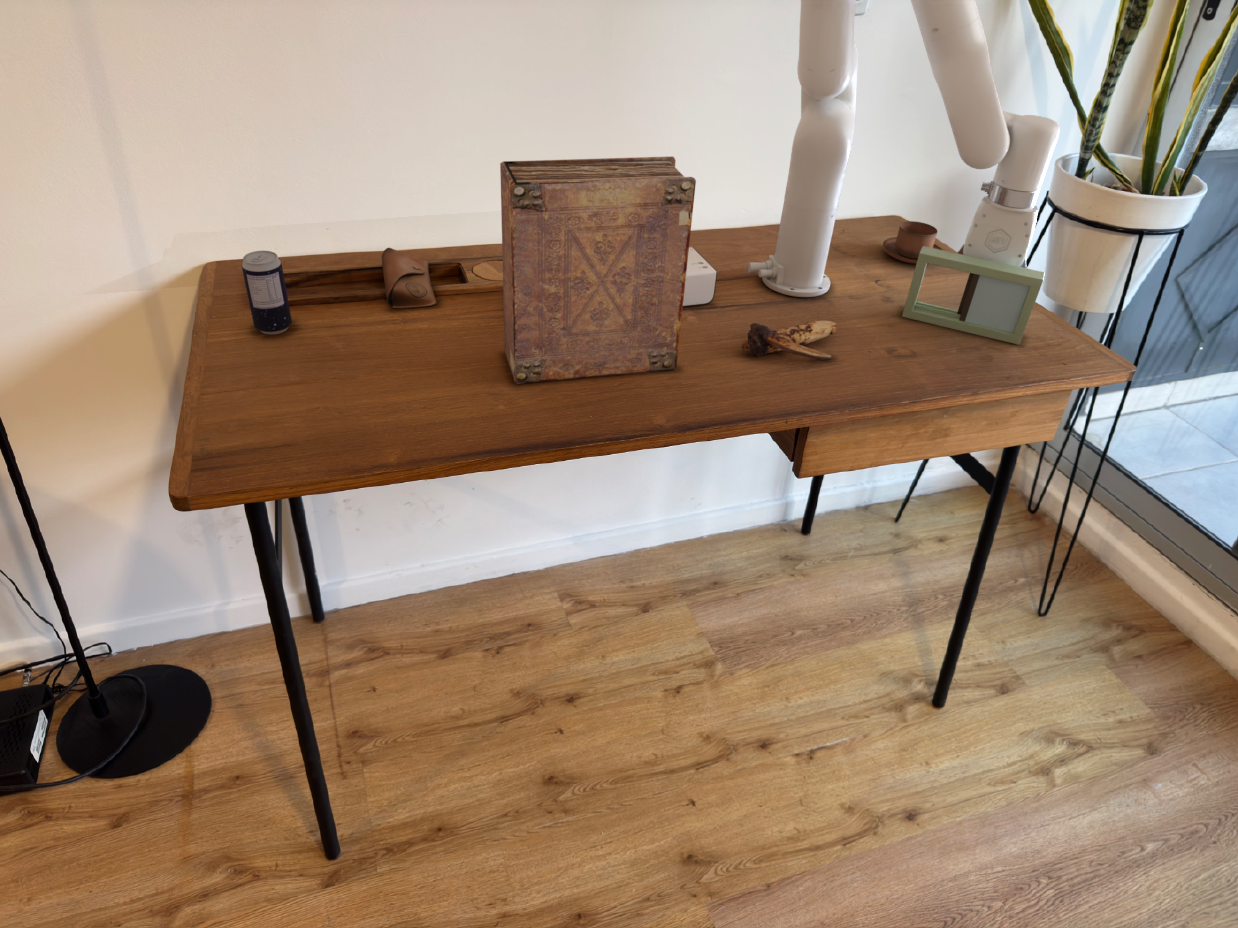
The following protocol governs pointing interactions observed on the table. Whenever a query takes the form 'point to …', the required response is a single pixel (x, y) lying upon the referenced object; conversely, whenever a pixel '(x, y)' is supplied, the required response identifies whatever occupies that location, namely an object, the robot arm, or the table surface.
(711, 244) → the table surface
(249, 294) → the beverage can
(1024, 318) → the window frame
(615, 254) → the book
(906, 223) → the cup and saucer
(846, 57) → the robot arm
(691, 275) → the laminator
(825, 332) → the bone fish hook
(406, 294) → the sunglasses case
